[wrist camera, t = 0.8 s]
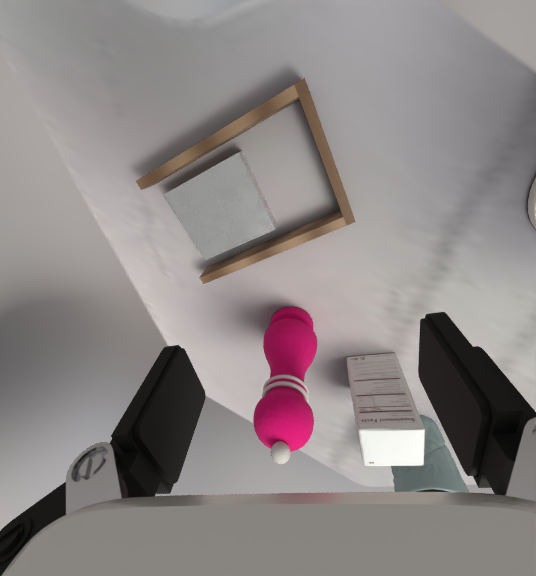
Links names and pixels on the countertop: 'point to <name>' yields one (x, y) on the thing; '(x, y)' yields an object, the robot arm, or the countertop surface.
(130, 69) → the countertop surface
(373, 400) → the supplement box
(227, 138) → the wooden u-shaped frame
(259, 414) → the pepper mill
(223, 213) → the cover plate
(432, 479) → the drinking glass
